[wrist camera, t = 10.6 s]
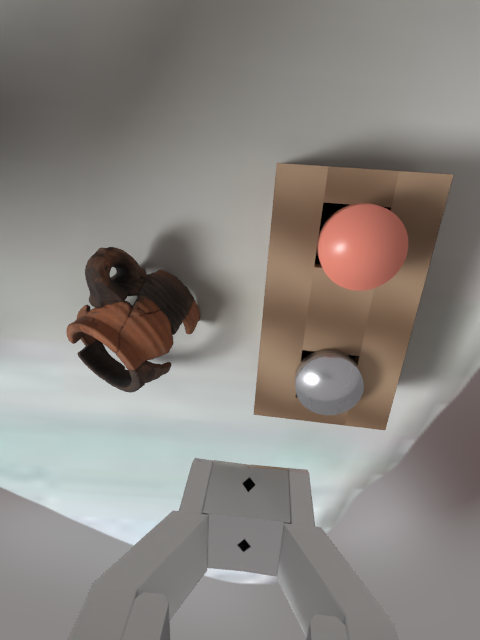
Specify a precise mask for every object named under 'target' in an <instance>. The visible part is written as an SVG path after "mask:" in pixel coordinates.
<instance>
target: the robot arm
mask: <svg viewBox="0 0 480 640" xmlns="http://www.w3.org/2000/svg"><path fill="white" fill-rule="evenodd" d="M242 565H243V566H242ZM207 568H214V569H225V570H236V571H245V572H251V573H258V574H264V575H271V576H277V580H278V582H279V584H280V585H281V588H282V590H283V592H284V594H285V596H286V598H287V600H288V602H289V604H290V606H291V608H292V610H293V612H294V614H295V616H296V618H297V620H298V622H299V625H300V627H301V629H302V631H303V632H304V635H305V637H306V640H399V639H398V635H397V631H396V627H395V623H394V622H393V620H392V619H391V618H390V616H389V615H388V614H387V613H386V611H385V610H384V609H383V607H382V606H381V605H380V603H379V602H378V601H377V600H376V598H375V597H374V596H373V595H372V593H371V592H370V591H369V589H368V588H367V587H366V585H365V584H364V583H363V581H362V580H361V579H360V577H359V576H358V575H357V574H356V572H355V571H354V570H353V568H352V567H351V566H350V564H349V563H348V562H347V560H346V559H345V558H344V557H343V555H342V554H341V553H340V551H339V550H338V549H337V547H336V546H335V545H334V544H333V542H332V541H331V540H330V539H329V537H328V536H327V534H326V533H325V532H324V531H323V529H322V528H320V527H315V521H314V512H313V503H312V495H311V486H310V477H309V472H308V470H302V469H291V468H280V467H270V466H259V465H247V464H239V463H231V462H224V461H216V460H214V461H212V460H205V459H198V458H195V459H194V461H193V462H192V466H191V469H190V473H189V476H188V480H187V483H186V487H185V491H184V494H183V498H182V501H181V505H180V508H179V511H172V512H171V513H170V514H169V515H168V516H166V517H165V518H164V519H163V520H162V521H161V522H160V523H159V524H158V525H156V526H155V527H154V528H153V529H152V530H151V531H150V532H149V533H148V534H146V535H145V536H144V537H143V538H142V539H141V540H140V541H139V542H138V543H136V544H135V545H134V546H133V547H132V548H131V549H130V550H129V551H128V552H127V553H125V554H124V555H123V556H122V557H121V558H120V559H119V560H118V561H117V562H115V563H114V564H113V565H112V566H111V567H110V568H109V569H108V570H107V571H105V572H104V573H103V574H102V575H101V576H100V577H99V578H98V579H97V580H95V581H94V582H93V583H92V585H91V588H90V590H89V592H88V595H87V597H86V599H85V601H84V603H83V606H82V608H81V610H80V612H79V615H78V617H77V619H76V621H75V624H74V626H73V628H72V631H71V633H70V635H69V637H68V640H170V620H171V618H172V617H173V616H174V614H175V613H176V612H177V610H178V609H179V608H180V606H181V605H182V604H183V602H184V601H185V599H186V598H187V597H188V595H189V594H190V593H191V591H192V590H193V589H194V587H195V586H196V585H197V583H198V582H199V581H200V579H201V578H202V577H203V575H204V574H205V573H206V571H207Z"/></svg>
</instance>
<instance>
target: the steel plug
mask: <svg viewBox="0 0 480 640" xmlns="http://www.w3.org/2000/svg"><path fill="white" fill-rule="evenodd" d="M303 355H304V359H303V360H302V361H301V363H300V364H299V366H298V367H297V370H296V373H295V389H296V394H297V397H298V399H299V401H300V402H301V403H302V405H303V406H304V407H306V408H307V409H308V410H310V411H312V412H314V413H317V414H321V415H337V414H341V413H344V412H346V411H348V410H350V409H351V408H353V407H354V406H355V405H356V404H357V403H358V402H359V400H360V399H361V396H362V394H363V390H364V382H363V378H362V376H361V373H360V370H359V368H358V366H357V364H356V363H355V361H354V360H353V359H352V358H351V357H349V356H348V355H346V354H345V353H342V352H339V351H335V350H322V351H317V352H316V351H307V350H303Z"/></svg>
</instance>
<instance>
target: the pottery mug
mask: <svg viewBox="0 0 480 640" xmlns="http://www.w3.org/2000/svg"><path fill="white" fill-rule="evenodd" d="M112 267H115V268H116V270H117V274H115V275H114V276H113V277H111V278H110V276H109V273H110V269H111V268H112ZM85 276H86V280H87V285H88V287H89V290H90V297H89V302H90V304H91V305H92V306H94V307H95V308H94V309H92V310H91V311H90V306H88V305H85V306H84V307H83V308H82V309H81V310H80V311H79V313H78V315H77V320H76V321H75V322H73V323H71V324H69V325H68V327H67V337H68V339H69V341H70V342H71V343H73V344H74V343H76V342H77V341H78V340H80V339H81V340H82V342H83V343H84V344H85V345H86V347H85V348H84V349H83V350H81V351H80V352H78V356H79V358H80V359H81V360H82V361H83V362H84V363H85V365H87V366H88V368H89V369H91V370H92V371H93V372H94V373H95V374H96V375H98V376H99V377H100V378H102V379H103V380H105V381H106V382H107V383H109V384H111V385H112V386H114V387H116V388H118V389H120V390H123V391H125V392H135V391H137V390H139V388H141V387H142V386H143V385H145V383H148V382H150V381H152V380H155V379H158V378H159V377H160V376H162V375H163V374H166V373H168V371H169V370H170V367H171V363H170V362H167V363H164V364H162V365H161V364H154V363H151V362H149V361H146V360H151V359H154V358H156V357H159V356H162V355H164V354H166V353H168V352H169V350H170V349H171V347H172V345H173V336H172V335H173V334H175V333H176V332H177V330H178V329H179V326H180V325H181V323H182V322H183V323H184V326H185V330H186V333H187V334H192V333H193V331H194V329H195V327H196V325H197V323H198V321H199V319H200V313H199V309H198V306H197V304H196V302H195V300H194V298H193V296H192V295H191V293H190V292H189V290H188V289H187V287H185V286H184V285H183V284H182V282H181V281H180V280H178V279H177V278H176V277H175V276H173V275H171V274H169V273H168V272H165V271H163V270H159V271H157V272H155V273H151V274H148V275H147V273H146V271H145V270H144V269H143V268H140V266H139V265H138V263H137V262H136V261H135V260H134V258H132V257H131V256H130V255H129V254H127V253H126V252H125V251H123V250H121V249H118V248H114V247H109V248H100V249H98V251H97V252H96V253H95V254H94V255H93V256H92V257H91V258H90V259H89V260H88V262H87V265H86V269H85ZM136 295H137V296H138V297H137V300H136V302H135V304H134V305H133V306H132V305H131V304H130V303H129V302H127V301H125V299H126V298H127V296H136ZM103 344H104V345H106V346H107V347H108V348H109V349H110V350H112V351H113V352H114V353H116V355H117V356H118V357H119V358H120V360H121V361H122V362H123V363H124V365H125V366H126V367H127V369H128V370H125V367H124V366H123V365H122V364H121V363H119V362H118V361H116V360H115V359H114V358H113V357H111V356H110V355H109V354H108V352H107V351H106V349H105V347H104V345H103Z"/></svg>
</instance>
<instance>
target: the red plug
mask: <svg viewBox="0 0 480 640" xmlns="http://www.w3.org/2000/svg"><path fill="white" fill-rule="evenodd" d="M317 251H318V257H319V260H320V263H321V266H322V268H323V270H324V272H325V273H326V275H327V276H328V277H329V278H330V279H331V280H332V281H333V282H334V283H335V284H337V285H339V286H341V287H343V288H345V289H349V290H355V291H363V290H370V289H373V288H376V287H379V286H381V285H383V284H384V283H386V282H388V281H389V280H390V279H391V278H393V277H394V276H395V275H396V274H397V272H398V271H399V270H400V268H401V267H402V265H403V263H404V261H405V259H406V256H407V252H408V235H407V231H406V229H405V226H404V224H403V223H402V221H401V220H400V219H399V218H398V216H396V215H395V214H394V213H393V212H391V211H390V210H388V209H386V208H384V207H381V206H378V205H375V204H371V203H356V204H352V205H348V206H346V207H344V208H342V209H338V210H336V211H334V212H332V213H331V214H330V215H329V216H328V217H327V218H326V220H325V222H324V224H323V227H322V230H321V232H320V235H319V238H318V245H317Z"/></svg>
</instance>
